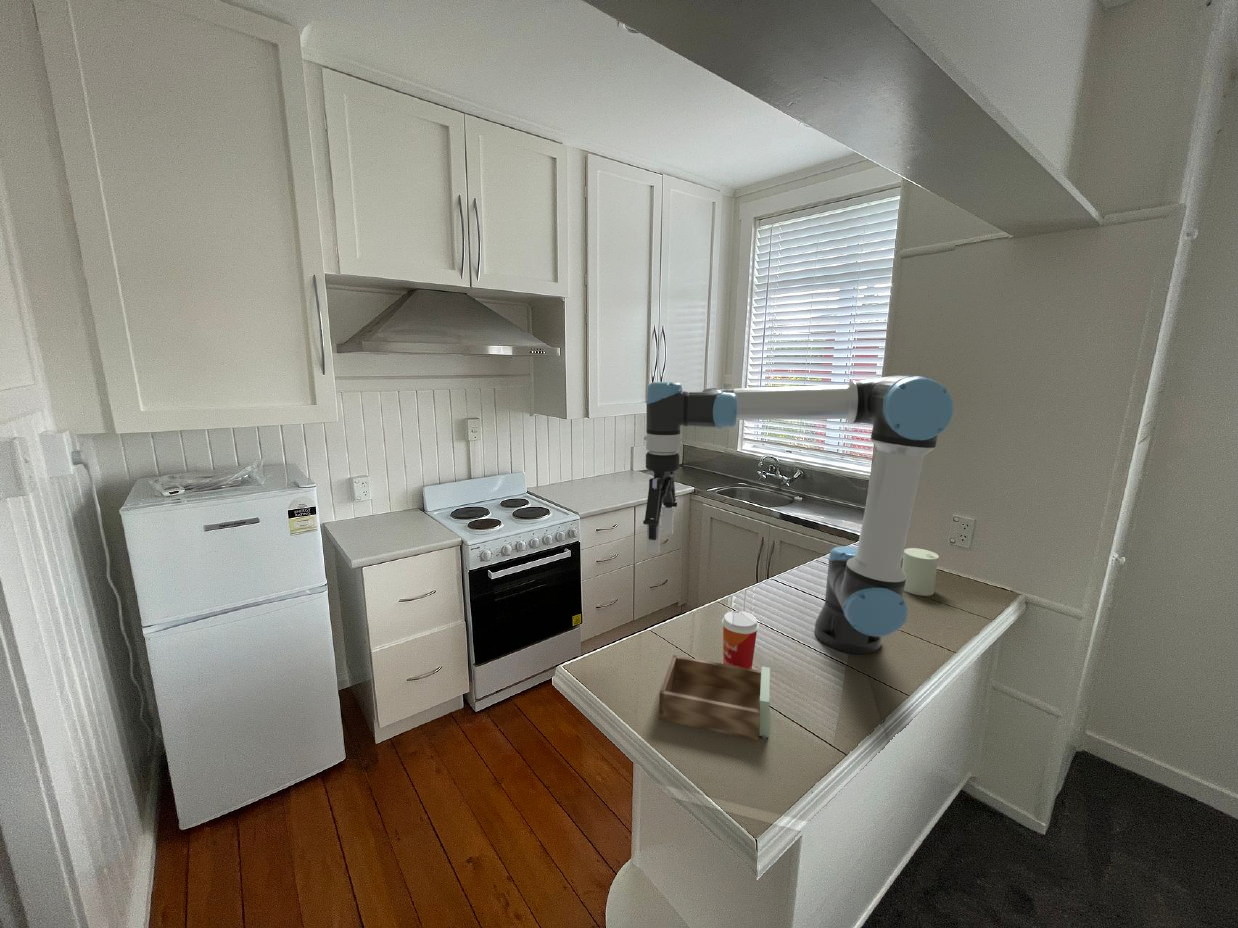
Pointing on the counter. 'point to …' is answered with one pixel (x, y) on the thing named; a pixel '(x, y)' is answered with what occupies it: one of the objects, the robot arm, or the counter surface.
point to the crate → (712, 697)
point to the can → (920, 571)
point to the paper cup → (739, 638)
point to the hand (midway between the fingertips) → (660, 542)
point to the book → (764, 702)
